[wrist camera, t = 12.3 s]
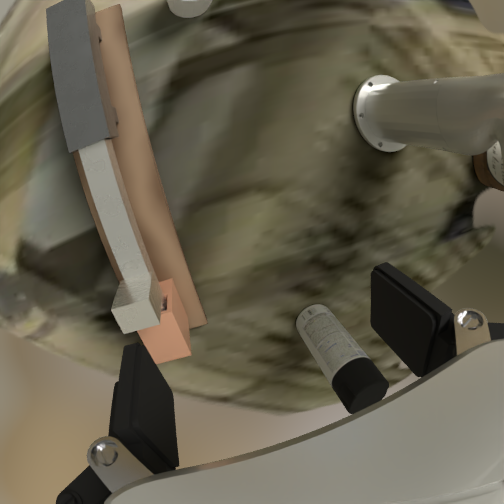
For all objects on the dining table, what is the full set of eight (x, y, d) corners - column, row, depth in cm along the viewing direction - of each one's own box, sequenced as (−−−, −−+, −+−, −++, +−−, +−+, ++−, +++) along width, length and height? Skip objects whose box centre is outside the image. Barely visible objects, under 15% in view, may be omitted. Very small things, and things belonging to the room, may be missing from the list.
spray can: (290, 335, 51) (340, 420, 33) (299, 302, 49) (358, 386, 31) (323, 333, 53) (378, 410, 35) (333, 301, 50) (398, 376, 32)
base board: (121, 8, 26) (119, 3, 24) (206, 318, 46) (207, 323, 44) (54, 35, 24) (50, 32, 23) (148, 334, 44) (147, 340, 43)
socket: (172, 278, 40) (171, 311, 33) (187, 317, 43) (191, 355, 35) (139, 288, 40) (132, 322, 32) (157, 326, 42) (155, 364, 35)
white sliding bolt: (109, 112, 27) (84, 104, 18) (178, 320, 38) (181, 366, 30) (76, 125, 26) (43, 123, 18) (151, 327, 37) (148, 374, 29)
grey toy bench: (100, 16, 24) (84, -9, 17) (125, 136, 32) (109, 136, 24) (68, 29, 24) (46, 9, 16) (91, 149, 31) (69, 153, 24)
